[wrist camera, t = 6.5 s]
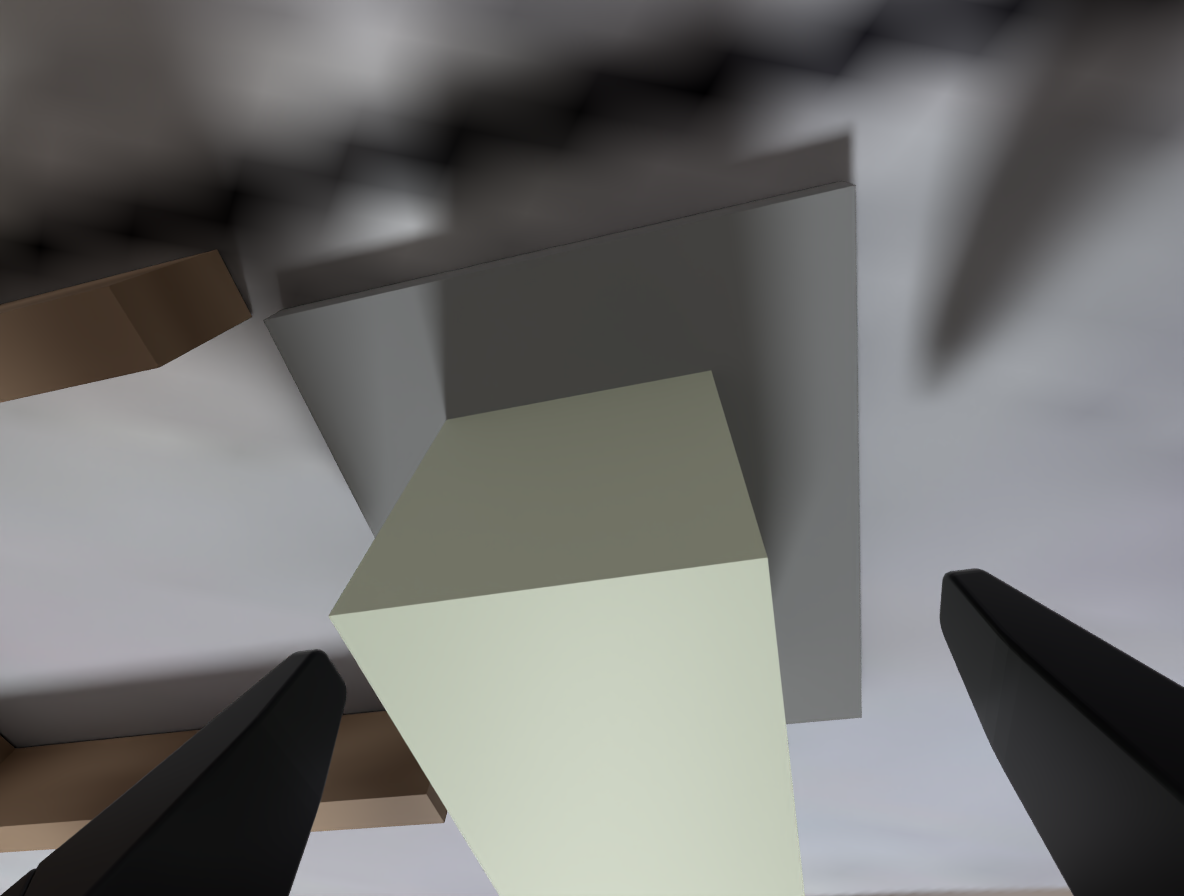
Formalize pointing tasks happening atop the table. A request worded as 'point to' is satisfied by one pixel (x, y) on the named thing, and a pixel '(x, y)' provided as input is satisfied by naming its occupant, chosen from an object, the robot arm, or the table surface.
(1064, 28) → the table surface
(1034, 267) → the table surface
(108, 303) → the frame
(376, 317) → the mat
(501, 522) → the sage block
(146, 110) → the table surface
